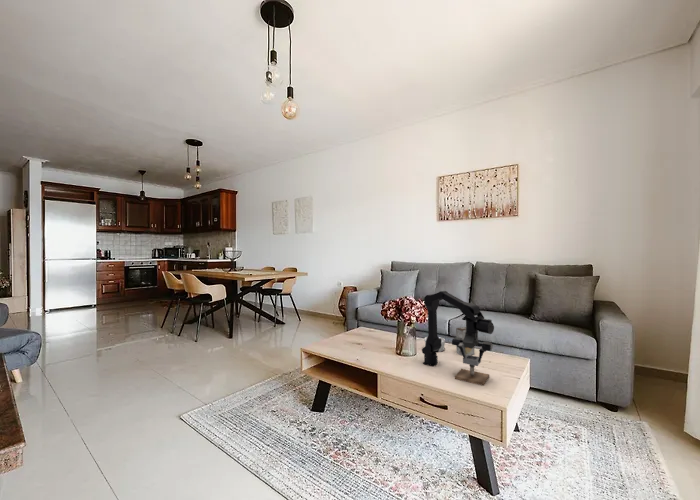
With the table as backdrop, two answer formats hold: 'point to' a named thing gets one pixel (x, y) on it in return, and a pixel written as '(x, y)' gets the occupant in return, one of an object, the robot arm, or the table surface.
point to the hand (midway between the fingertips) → (471, 360)
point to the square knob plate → (472, 376)
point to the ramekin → (441, 343)
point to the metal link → (471, 360)
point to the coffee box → (461, 334)
